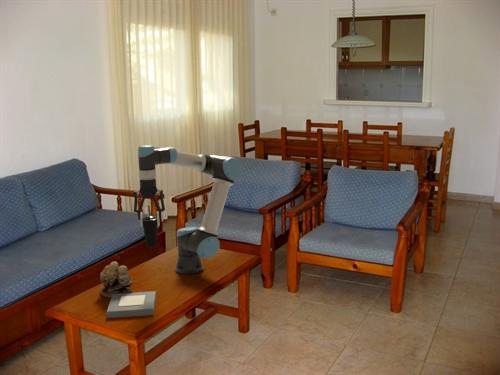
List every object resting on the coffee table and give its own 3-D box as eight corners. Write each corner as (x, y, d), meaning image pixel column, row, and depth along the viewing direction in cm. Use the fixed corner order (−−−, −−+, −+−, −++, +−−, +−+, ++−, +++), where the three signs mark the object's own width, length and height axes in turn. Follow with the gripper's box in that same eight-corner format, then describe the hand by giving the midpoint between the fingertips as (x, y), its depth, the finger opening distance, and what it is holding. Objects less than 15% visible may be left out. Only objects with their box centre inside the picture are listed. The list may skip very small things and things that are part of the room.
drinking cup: (140, 245, 265) (137, 205, 261) (154, 242, 270) (151, 202, 266) (148, 249, 260) (145, 208, 256) (162, 245, 264) (160, 205, 260)
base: (156, 297, 263) (155, 290, 262) (153, 314, 243) (152, 307, 242) (113, 299, 261) (112, 293, 260) (107, 318, 241) (106, 311, 240)
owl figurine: (139, 291, 270) (137, 258, 266) (127, 301, 259) (124, 267, 256) (107, 288, 276) (105, 255, 272) (94, 297, 265) (91, 263, 261)
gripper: (125, 180, 254) (128, 228, 258) (168, 179, 256) (171, 226, 260) (127, 177, 261) (129, 224, 266) (169, 176, 263) (171, 222, 267)
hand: (150, 225), depth 263 cm, fingers closed on drinking cup, 7 cm apart
